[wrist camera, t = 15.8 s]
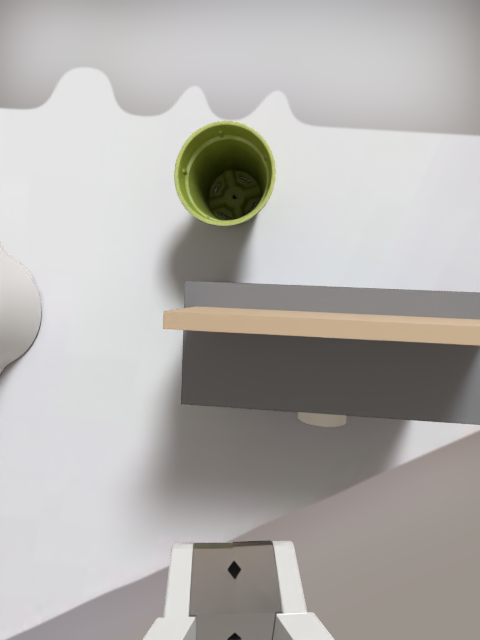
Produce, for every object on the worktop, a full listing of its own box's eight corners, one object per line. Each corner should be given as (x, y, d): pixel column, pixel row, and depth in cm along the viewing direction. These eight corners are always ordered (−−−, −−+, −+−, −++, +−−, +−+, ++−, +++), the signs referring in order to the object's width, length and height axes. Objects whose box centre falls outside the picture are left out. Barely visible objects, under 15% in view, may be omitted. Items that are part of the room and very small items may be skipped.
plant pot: (179, 216, 44) (156, 197, 36) (217, 141, 43) (202, 102, 35) (251, 253, 44) (245, 243, 35) (290, 178, 43) (294, 148, 34)
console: (210, 370, 45) (142, 447, 22) (213, 285, 44) (147, 275, 22) (421, 383, 43) (587, 483, 20) (428, 293, 42) (608, 293, 19)
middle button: (296, 409, 38) (298, 425, 33) (298, 373, 37) (301, 384, 33) (341, 413, 37) (350, 428, 33) (344, 376, 37) (353, 387, 33)
